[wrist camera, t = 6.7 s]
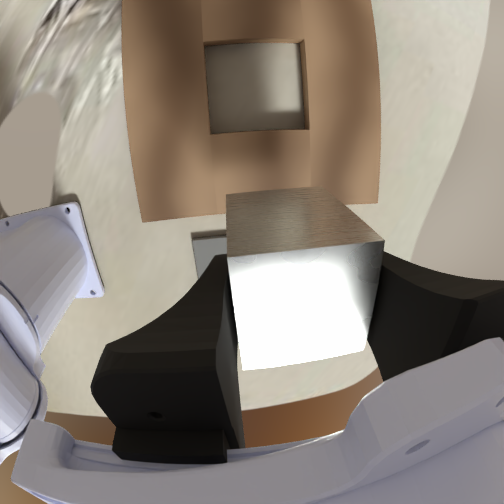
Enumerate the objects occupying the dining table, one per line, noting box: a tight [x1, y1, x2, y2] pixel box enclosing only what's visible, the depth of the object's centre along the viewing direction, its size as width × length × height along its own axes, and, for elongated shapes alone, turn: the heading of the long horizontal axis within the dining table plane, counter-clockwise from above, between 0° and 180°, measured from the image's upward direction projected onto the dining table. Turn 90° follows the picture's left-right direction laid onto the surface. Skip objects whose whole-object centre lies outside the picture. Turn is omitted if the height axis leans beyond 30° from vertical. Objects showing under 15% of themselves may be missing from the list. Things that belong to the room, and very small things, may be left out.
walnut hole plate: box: [122, 0, 381, 223], centre depth 15 cm, size 16×16×1 cm
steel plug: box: [226, 186, 385, 370], centre depth 11 cm, size 4×4×6 cm
